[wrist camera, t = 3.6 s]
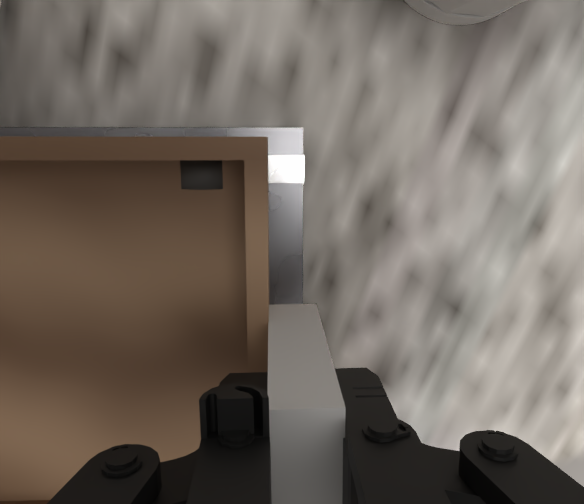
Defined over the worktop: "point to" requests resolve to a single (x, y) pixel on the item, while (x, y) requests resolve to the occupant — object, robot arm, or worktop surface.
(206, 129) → the grey metal tray
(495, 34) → the worktop surface
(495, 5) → the cup
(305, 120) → the worktop surface
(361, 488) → the robot arm
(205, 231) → the open wooden crate
